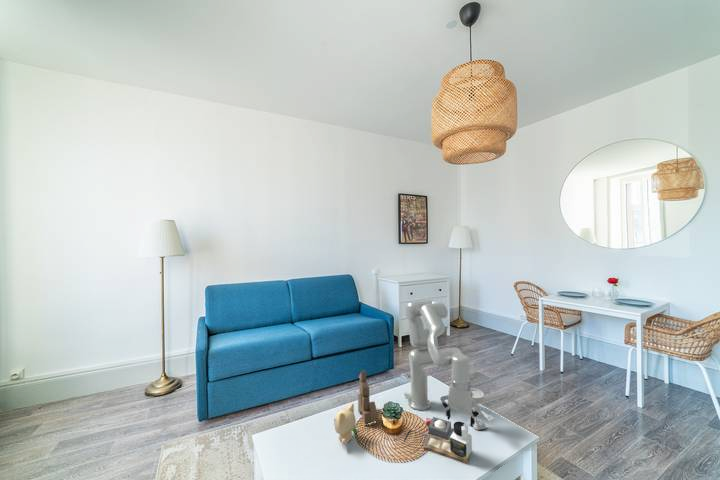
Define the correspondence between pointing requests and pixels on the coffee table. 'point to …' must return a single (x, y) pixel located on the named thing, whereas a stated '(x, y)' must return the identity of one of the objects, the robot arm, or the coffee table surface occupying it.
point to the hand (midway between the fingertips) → (460, 421)
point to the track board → (443, 448)
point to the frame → (426, 440)
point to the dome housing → (438, 431)
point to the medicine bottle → (461, 441)
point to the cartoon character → (477, 399)
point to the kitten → (345, 424)
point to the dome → (440, 424)
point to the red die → (428, 421)
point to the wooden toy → (365, 401)
